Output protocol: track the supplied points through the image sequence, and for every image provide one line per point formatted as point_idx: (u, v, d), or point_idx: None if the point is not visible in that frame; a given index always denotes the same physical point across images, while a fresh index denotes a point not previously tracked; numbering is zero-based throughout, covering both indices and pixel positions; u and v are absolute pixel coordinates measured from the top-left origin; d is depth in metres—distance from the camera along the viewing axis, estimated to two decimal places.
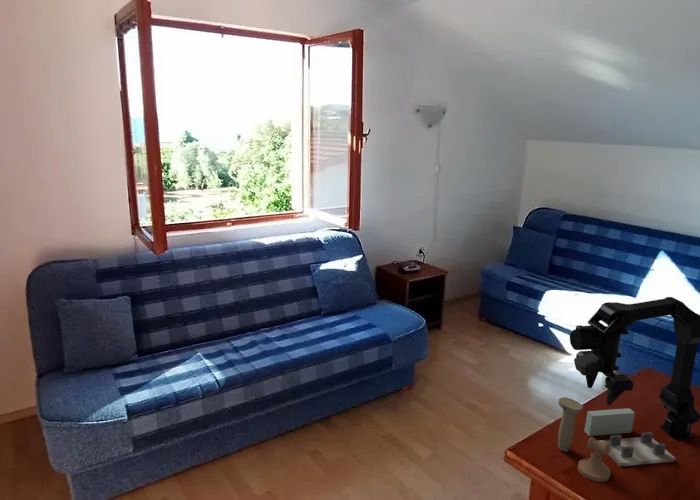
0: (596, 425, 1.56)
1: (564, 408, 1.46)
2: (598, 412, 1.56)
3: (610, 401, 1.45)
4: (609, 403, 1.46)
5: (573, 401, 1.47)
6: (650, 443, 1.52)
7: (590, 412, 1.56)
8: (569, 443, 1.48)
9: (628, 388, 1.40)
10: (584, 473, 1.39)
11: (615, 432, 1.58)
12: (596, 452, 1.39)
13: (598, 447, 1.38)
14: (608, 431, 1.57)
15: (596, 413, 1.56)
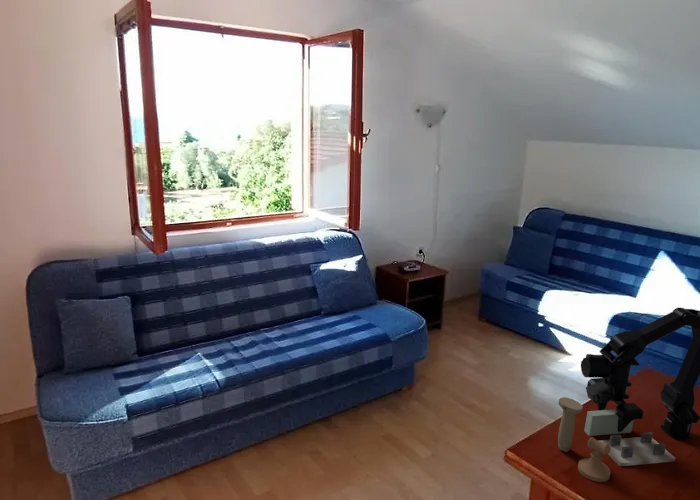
0: (596, 425, 1.56)
1: (564, 408, 1.46)
2: (598, 412, 1.57)
3: (620, 428, 1.52)
4: (620, 430, 1.53)
5: (573, 401, 1.47)
6: (650, 443, 1.52)
7: (590, 412, 1.56)
8: (569, 443, 1.48)
9: (638, 417, 1.47)
10: (584, 473, 1.39)
11: (615, 432, 1.58)
12: (596, 452, 1.39)
13: (598, 447, 1.38)
14: (608, 431, 1.57)
15: (596, 413, 1.56)
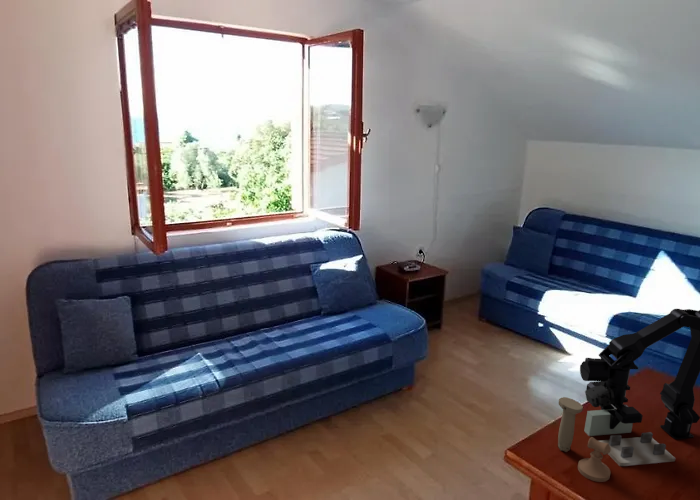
0: (596, 425, 1.56)
1: (564, 408, 1.46)
2: (598, 412, 1.56)
3: (613, 425, 1.56)
4: (612, 427, 1.56)
5: (573, 401, 1.47)
6: (650, 443, 1.52)
7: (590, 412, 1.56)
8: (569, 443, 1.48)
9: (637, 420, 1.47)
10: (584, 473, 1.39)
11: (615, 432, 1.58)
12: (596, 452, 1.39)
13: (598, 447, 1.38)
14: (608, 431, 1.57)
15: (596, 413, 1.56)
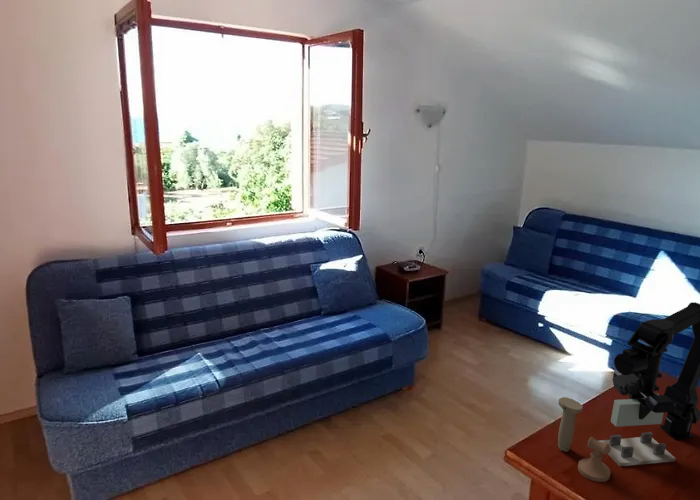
0: (624, 415, 1.46)
1: (564, 408, 1.46)
2: (626, 401, 1.46)
3: (642, 415, 1.45)
4: (641, 417, 1.46)
5: (573, 401, 1.47)
6: (650, 443, 1.52)
7: (617, 401, 1.46)
8: (569, 443, 1.48)
9: (670, 410, 1.37)
10: (584, 473, 1.39)
11: (644, 423, 1.47)
12: (596, 452, 1.39)
13: (598, 447, 1.38)
14: (637, 421, 1.47)
15: (624, 402, 1.46)
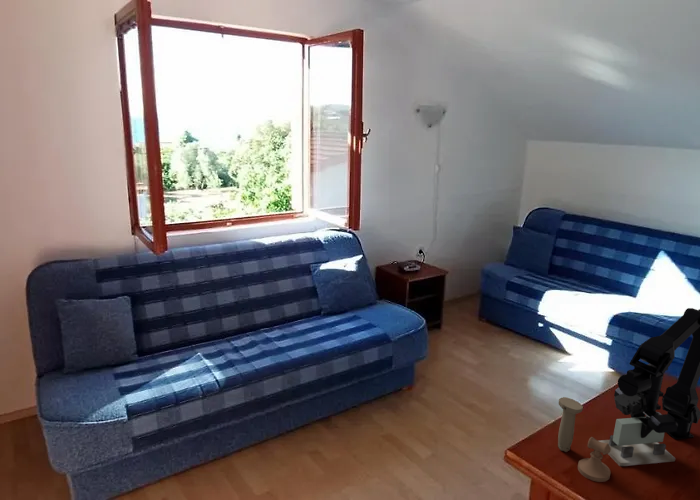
0: (626, 434, 1.46)
1: (564, 408, 1.46)
2: (628, 420, 1.46)
3: (644, 434, 1.46)
4: (643, 436, 1.46)
5: (573, 401, 1.47)
6: (650, 443, 1.52)
7: (619, 420, 1.46)
8: (569, 443, 1.48)
9: (672, 429, 1.37)
10: (584, 473, 1.39)
11: (646, 441, 1.47)
12: (596, 452, 1.39)
13: (598, 447, 1.38)
14: (638, 440, 1.47)
15: (626, 421, 1.46)
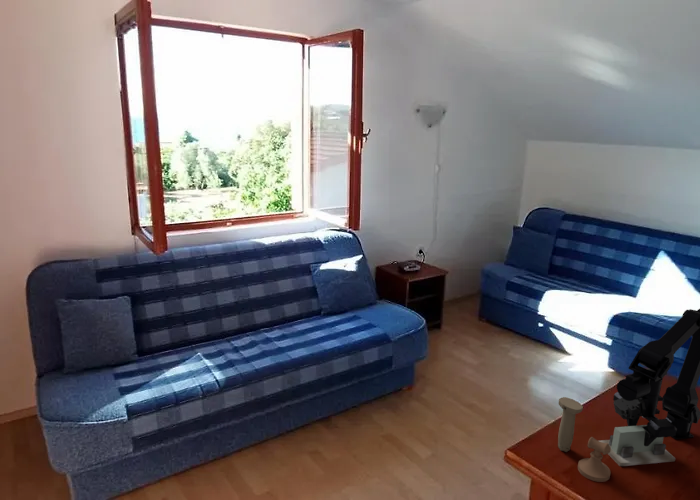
0: (624, 442, 1.46)
1: (564, 408, 1.46)
2: (626, 428, 1.47)
3: (647, 442, 1.44)
4: (647, 444, 1.45)
5: (573, 401, 1.47)
6: None
7: (618, 428, 1.47)
8: (569, 443, 1.48)
9: (671, 434, 1.37)
10: (584, 473, 1.39)
11: (644, 449, 1.48)
12: (596, 452, 1.39)
13: (598, 447, 1.38)
14: (637, 448, 1.48)
15: (624, 429, 1.46)
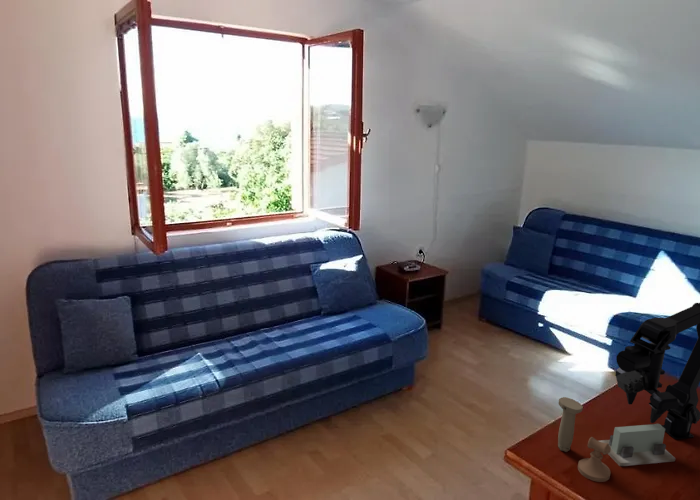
0: (624, 442, 1.46)
1: (564, 408, 1.46)
2: (626, 428, 1.47)
3: (654, 419, 1.44)
4: (653, 421, 1.44)
5: (573, 401, 1.47)
6: None
7: (618, 428, 1.47)
8: (569, 443, 1.48)
9: (674, 406, 1.38)
10: (584, 473, 1.39)
11: (644, 449, 1.48)
12: (596, 452, 1.39)
13: (598, 447, 1.38)
14: (637, 448, 1.48)
15: (624, 429, 1.46)
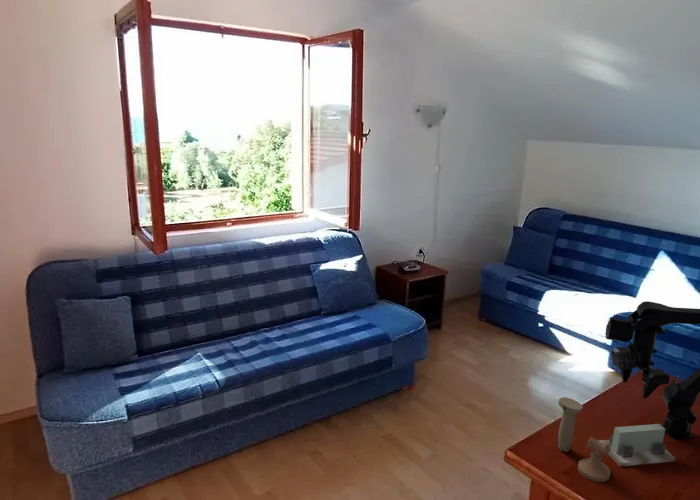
0: (624, 442, 1.46)
1: (564, 408, 1.46)
2: (626, 428, 1.47)
3: (646, 394, 1.54)
4: (645, 396, 1.55)
5: (573, 401, 1.47)
6: None
7: (618, 428, 1.47)
8: (569, 443, 1.48)
9: (664, 382, 1.49)
10: (584, 473, 1.39)
11: (644, 449, 1.48)
12: (596, 452, 1.39)
13: (598, 447, 1.38)
14: (637, 448, 1.48)
15: (624, 429, 1.46)
